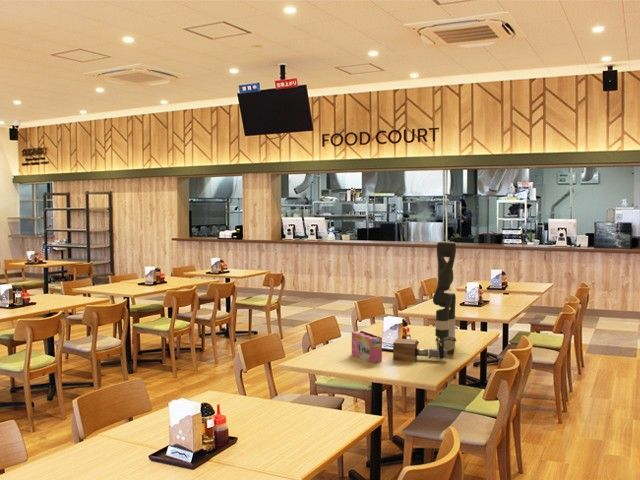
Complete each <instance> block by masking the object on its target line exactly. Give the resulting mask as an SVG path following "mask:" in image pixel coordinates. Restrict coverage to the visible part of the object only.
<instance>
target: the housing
mask: <svg viewBox="0 0 640 480" xmlns="http://www.w3.org/2000/svg"><path fill="white" fill-rule="evenodd" d="M415 349H418V339H414V338H413V339H411V338H409V339H407V338H406V339H405V338H396V339H395V340H394V341H393V344H392V361H398V362H400V361H401V362H403V361H404V362H413V363H414V362H415V361H416V360H417V358H418V356H415Z"/></svg>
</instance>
